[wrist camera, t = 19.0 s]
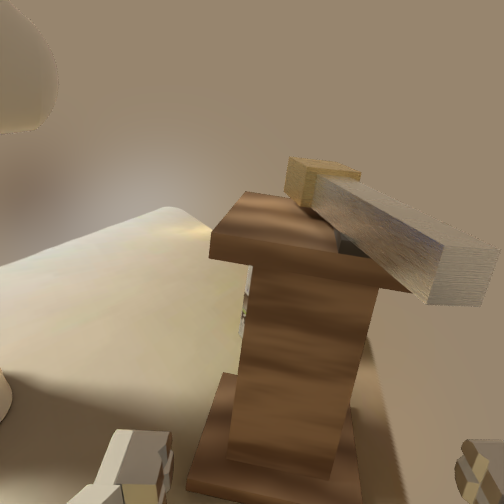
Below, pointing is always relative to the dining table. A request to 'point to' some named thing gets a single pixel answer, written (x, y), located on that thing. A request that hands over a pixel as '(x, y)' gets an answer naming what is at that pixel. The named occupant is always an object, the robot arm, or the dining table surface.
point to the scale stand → (289, 360)
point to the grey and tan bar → (396, 234)
